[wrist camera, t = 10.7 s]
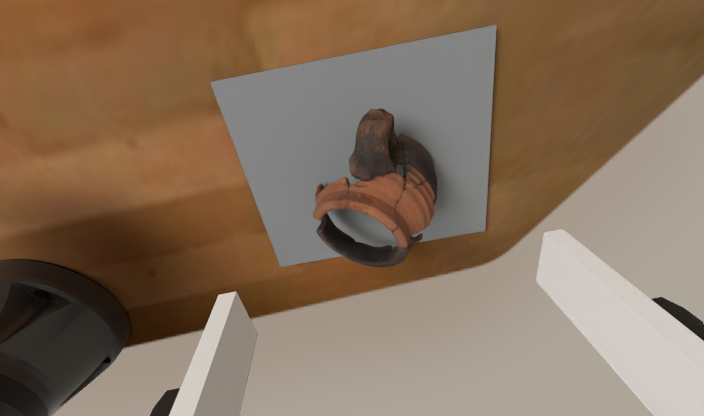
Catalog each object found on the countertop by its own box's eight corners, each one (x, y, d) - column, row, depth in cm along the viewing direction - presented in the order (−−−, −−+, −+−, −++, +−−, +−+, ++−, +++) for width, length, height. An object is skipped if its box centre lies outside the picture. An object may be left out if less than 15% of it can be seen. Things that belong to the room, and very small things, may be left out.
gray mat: (281, 263, 30) (280, 266, 29) (213, 81, 22) (210, 82, 21) (482, 227, 29) (485, 230, 29) (492, 25, 21) (496, 25, 20)
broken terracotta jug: (443, 208, 28) (425, 285, 23) (349, 196, 31) (315, 261, 26) (448, 78, 19) (421, 155, 14) (318, 82, 23) (260, 145, 18)
